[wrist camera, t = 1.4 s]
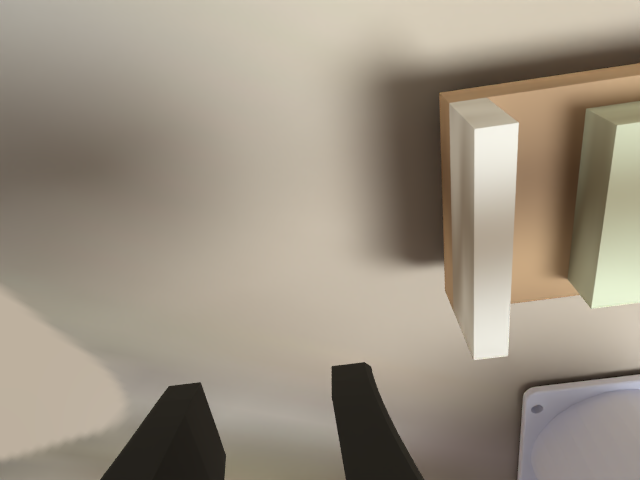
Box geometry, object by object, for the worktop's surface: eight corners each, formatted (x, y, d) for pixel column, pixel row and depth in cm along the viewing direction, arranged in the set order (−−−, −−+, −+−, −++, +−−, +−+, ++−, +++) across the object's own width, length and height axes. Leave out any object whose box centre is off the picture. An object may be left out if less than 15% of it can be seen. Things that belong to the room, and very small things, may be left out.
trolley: (679, 237, 19) (791, 321, 15) (436, 269, 19) (473, 360, 15) (724, 38, 16) (887, 69, 11) (429, 82, 16) (474, 129, 12)
